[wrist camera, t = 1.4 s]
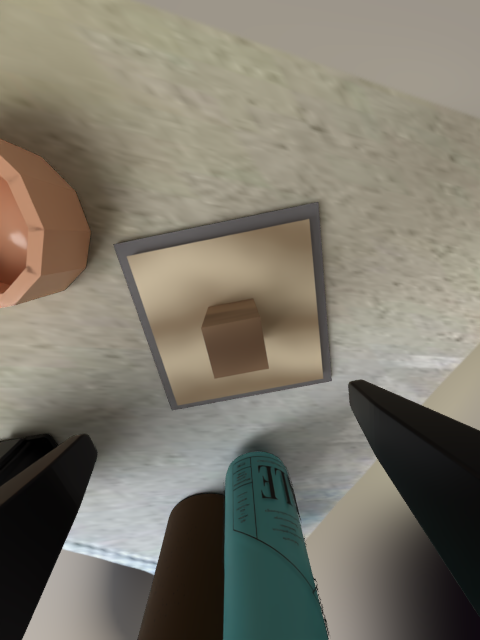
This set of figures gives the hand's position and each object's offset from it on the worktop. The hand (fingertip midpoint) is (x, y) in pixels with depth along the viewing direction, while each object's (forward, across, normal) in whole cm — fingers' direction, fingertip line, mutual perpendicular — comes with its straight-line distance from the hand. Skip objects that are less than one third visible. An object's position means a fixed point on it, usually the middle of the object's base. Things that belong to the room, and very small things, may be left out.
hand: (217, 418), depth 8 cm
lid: (+12, -1, +1) cm, 12 cm away
